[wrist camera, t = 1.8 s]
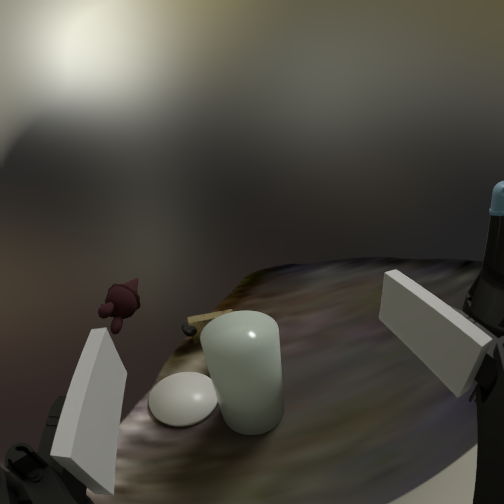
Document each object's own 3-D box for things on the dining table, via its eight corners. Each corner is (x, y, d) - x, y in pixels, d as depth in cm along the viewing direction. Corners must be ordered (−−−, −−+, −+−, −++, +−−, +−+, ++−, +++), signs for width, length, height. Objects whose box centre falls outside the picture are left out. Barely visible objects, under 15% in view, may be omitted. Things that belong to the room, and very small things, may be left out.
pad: (214, 369, 37) (213, 366, 36) (224, 420, 28) (223, 418, 28) (151, 379, 35) (150, 376, 35) (148, 430, 27) (147, 427, 27)
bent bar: (237, 327, 46) (234, 306, 44) (250, 366, 37) (246, 344, 35) (185, 337, 44) (179, 316, 43) (187, 378, 35) (180, 357, 34)
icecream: (116, 269, 57) (82, 313, 43) (142, 260, 55) (110, 305, 42) (132, 295, 59) (104, 342, 46) (158, 287, 58) (132, 336, 45)
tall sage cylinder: (274, 383, 33) (266, 304, 29) (291, 425, 27) (289, 347, 22) (219, 396, 32) (197, 318, 28) (228, 440, 26) (203, 366, 21)
